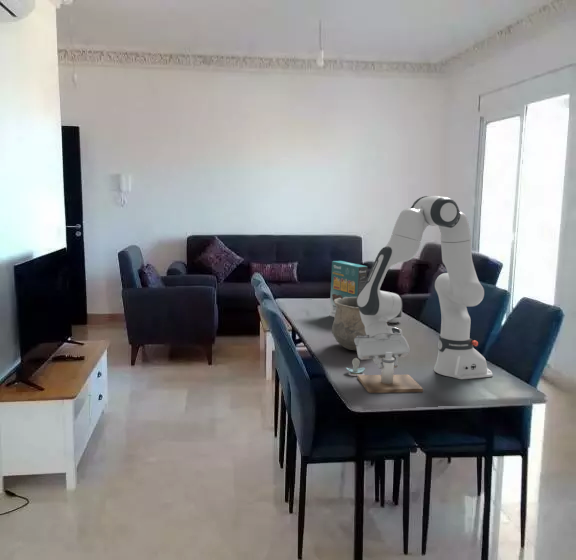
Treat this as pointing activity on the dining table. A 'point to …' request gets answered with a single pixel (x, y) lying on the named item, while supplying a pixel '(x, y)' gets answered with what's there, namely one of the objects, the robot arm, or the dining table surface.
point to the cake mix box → (346, 281)
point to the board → (399, 384)
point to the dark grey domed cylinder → (396, 318)
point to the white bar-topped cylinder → (387, 368)
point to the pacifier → (356, 368)
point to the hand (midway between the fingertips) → (388, 367)
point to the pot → (347, 322)
